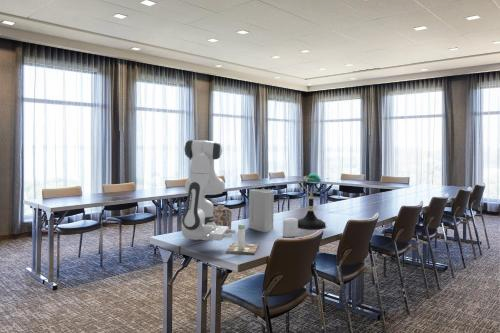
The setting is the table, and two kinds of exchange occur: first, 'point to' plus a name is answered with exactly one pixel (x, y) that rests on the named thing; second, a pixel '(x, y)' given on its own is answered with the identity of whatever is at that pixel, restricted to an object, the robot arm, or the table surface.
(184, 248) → the table surface
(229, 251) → the picture board
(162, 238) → the table surface
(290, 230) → the photo printer
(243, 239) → the marker
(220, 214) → the decorative jar
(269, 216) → the paper bag
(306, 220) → the banker's lamp
